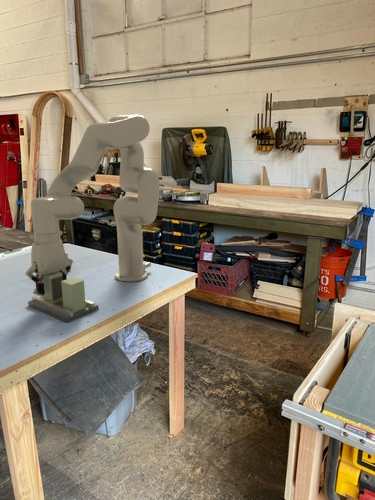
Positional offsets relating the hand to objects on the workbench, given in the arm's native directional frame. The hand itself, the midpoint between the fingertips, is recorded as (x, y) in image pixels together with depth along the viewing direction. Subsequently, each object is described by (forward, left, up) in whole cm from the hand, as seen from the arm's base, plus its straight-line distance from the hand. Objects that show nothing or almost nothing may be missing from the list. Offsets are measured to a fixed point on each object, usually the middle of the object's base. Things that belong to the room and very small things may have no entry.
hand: (52, 289), depth 122 cm
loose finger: (0, 0, -3) cm, 3 cm away
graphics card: (-24, -32, -6) cm, 41 cm away
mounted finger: (0, +11, -3) cm, 11 cm away
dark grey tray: (0, +5, -5) cm, 7 cm away
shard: (-6, -13, -6) cm, 15 cm away
